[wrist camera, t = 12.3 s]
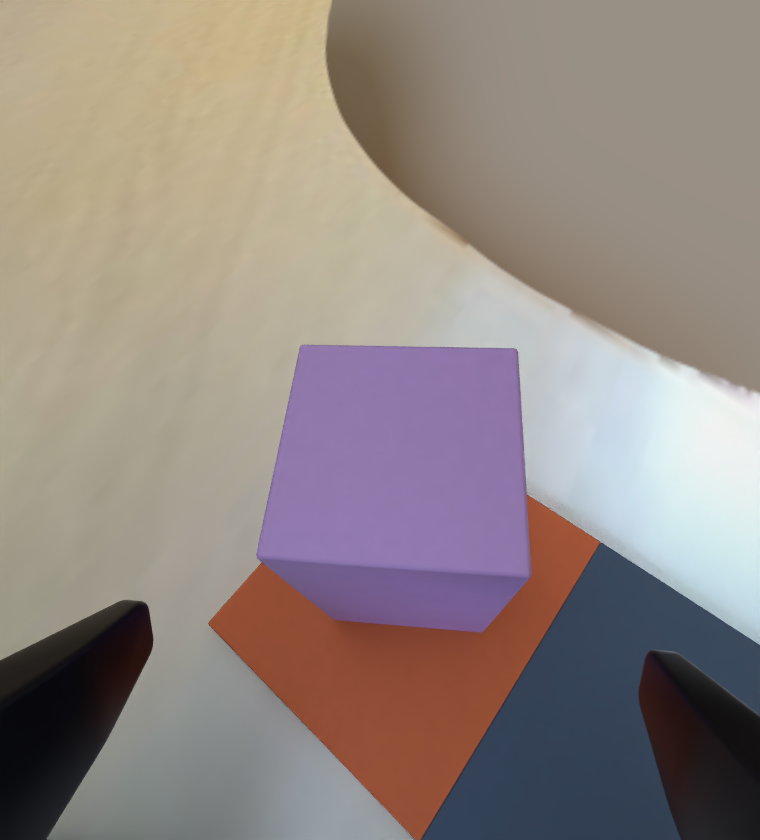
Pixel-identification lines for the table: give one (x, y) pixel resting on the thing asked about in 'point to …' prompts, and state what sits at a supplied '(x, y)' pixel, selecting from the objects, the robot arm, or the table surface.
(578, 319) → the table surface
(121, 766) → the table surface
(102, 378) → the table surface
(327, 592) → the block
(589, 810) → the mat
